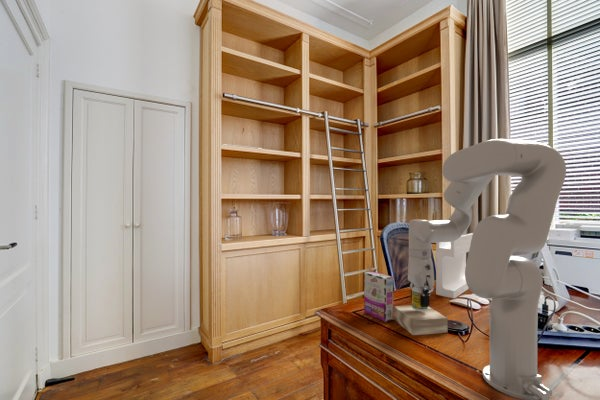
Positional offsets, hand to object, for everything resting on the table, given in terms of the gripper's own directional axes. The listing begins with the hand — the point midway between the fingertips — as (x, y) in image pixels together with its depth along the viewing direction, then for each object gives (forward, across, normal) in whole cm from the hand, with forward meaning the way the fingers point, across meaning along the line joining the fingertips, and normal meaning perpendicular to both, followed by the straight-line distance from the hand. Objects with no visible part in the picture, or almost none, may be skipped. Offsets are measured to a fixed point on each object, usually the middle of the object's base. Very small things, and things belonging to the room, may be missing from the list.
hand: (419, 303), depth 104 cm
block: (+8, +38, -45) cm, 59 cm away
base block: (+8, 0, 0) cm, 8 cm away
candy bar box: (+8, +11, +11) cm, 18 cm away
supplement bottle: (+2, 0, 0) cm, 2 cm away
